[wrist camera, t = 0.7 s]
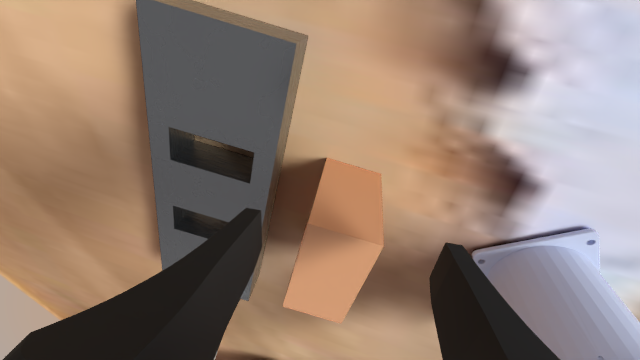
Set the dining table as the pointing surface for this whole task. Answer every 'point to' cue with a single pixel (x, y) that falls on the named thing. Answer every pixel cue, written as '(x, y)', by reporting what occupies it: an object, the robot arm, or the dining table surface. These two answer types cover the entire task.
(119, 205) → the dining table surface
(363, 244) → the tan orange block
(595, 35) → the dining table surface
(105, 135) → the dining table surface
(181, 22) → the slate rail
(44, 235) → the dining table surface
